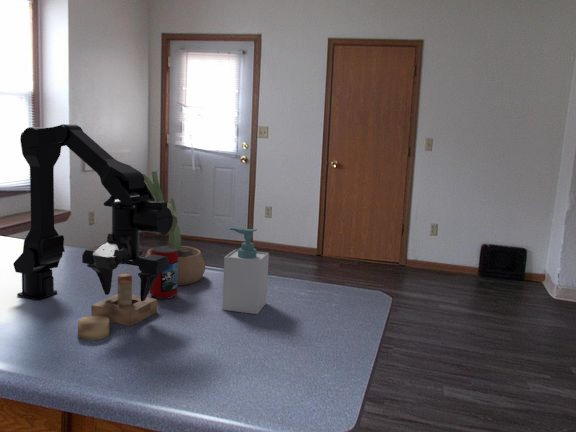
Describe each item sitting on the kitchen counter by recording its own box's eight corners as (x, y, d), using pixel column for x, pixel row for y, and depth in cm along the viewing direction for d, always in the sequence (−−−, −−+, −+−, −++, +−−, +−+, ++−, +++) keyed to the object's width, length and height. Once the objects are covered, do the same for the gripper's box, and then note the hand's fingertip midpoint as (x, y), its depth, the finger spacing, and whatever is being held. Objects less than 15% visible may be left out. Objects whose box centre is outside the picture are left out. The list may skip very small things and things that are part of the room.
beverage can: (170, 301, 135) (171, 252, 133) (144, 297, 137) (145, 250, 135) (181, 293, 142) (182, 247, 140) (156, 290, 143) (157, 244, 141)
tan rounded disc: (71, 337, 111) (70, 322, 110) (90, 327, 117) (90, 313, 116) (96, 342, 109) (96, 328, 109) (115, 332, 115) (115, 318, 114)
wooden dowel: (114, 316, 123) (114, 276, 122) (122, 312, 126) (123, 273, 125) (126, 318, 122) (126, 278, 121) (134, 314, 125) (134, 275, 124)
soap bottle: (232, 299, 140) (235, 223, 136) (266, 303, 138) (270, 227, 135) (221, 310, 131) (224, 230, 128) (257, 314, 130) (261, 233, 126)
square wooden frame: (91, 318, 121) (91, 305, 121) (119, 305, 131) (119, 292, 130) (130, 326, 118) (131, 312, 118) (156, 311, 127) (157, 299, 127)
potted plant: (174, 266, 167) (177, 165, 162) (217, 279, 156) (221, 171, 151) (109, 280, 149) (109, 167, 144) (152, 296, 138) (154, 175, 133)
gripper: (64, 229, 116) (64, 301, 119) (141, 240, 111) (140, 315, 113) (98, 221, 127) (98, 287, 129) (171, 231, 121) (169, 300, 124)
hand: (124, 297), depth 124 cm, fingers open, 9 cm apart
